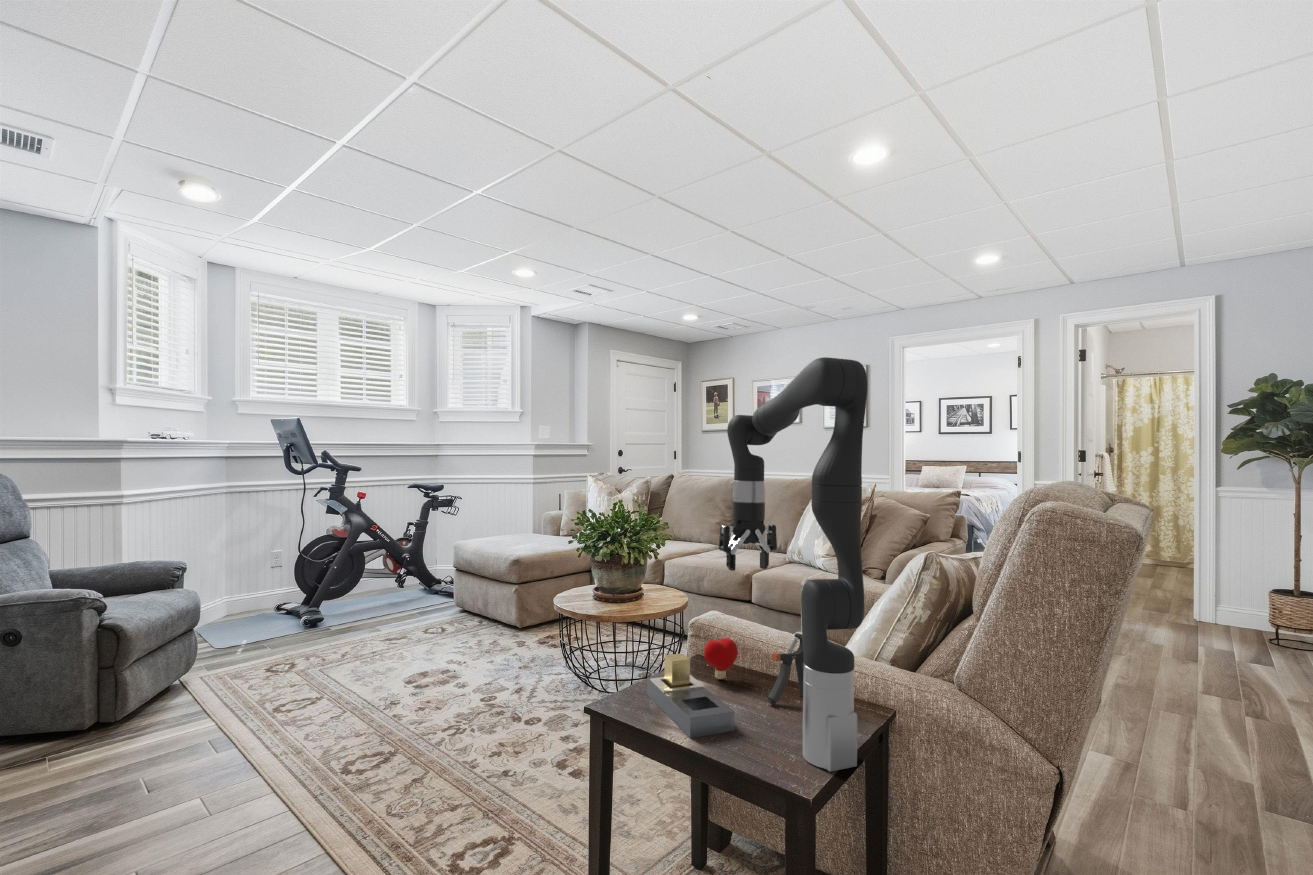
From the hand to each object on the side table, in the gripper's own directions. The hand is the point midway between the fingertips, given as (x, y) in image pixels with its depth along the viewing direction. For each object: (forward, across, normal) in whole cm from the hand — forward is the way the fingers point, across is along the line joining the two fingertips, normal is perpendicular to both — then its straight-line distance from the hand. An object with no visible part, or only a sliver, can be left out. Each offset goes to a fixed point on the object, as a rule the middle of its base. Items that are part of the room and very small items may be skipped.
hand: (747, 569), depth 144 cm
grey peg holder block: (+30, -16, -2) cm, 34 cm away
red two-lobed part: (+30, 0, +13) cm, 33 cm away
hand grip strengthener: (+30, +9, -4) cm, 32 cm away
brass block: (+30, -16, +4) cm, 34 cm away
